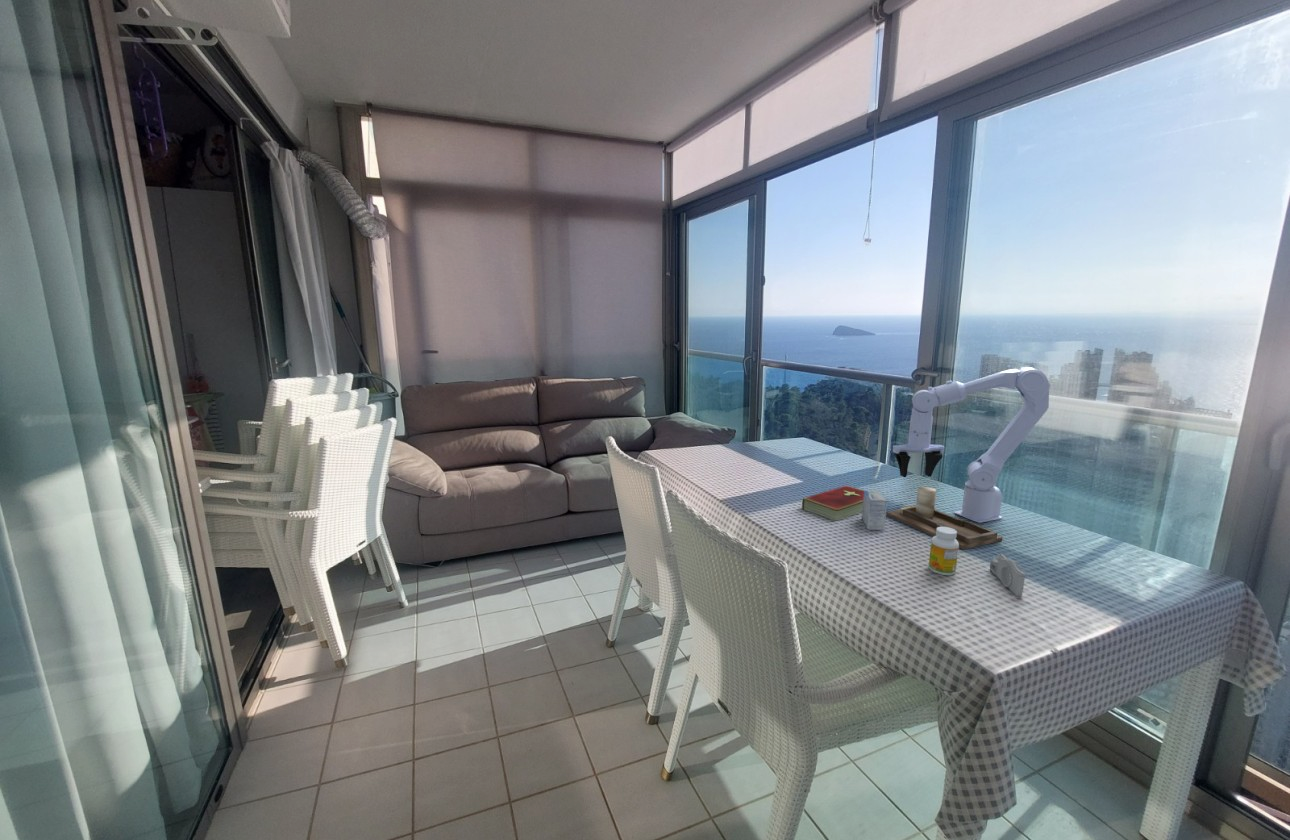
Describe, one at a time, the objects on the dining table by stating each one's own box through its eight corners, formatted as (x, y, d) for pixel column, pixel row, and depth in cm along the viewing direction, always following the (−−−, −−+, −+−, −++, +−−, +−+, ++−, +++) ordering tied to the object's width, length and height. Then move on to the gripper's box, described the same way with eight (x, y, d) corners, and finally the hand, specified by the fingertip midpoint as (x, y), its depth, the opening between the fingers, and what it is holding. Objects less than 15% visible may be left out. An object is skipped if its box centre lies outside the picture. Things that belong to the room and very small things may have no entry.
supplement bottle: (923, 564, 120) (928, 525, 118) (947, 564, 120) (952, 525, 118) (935, 575, 115) (940, 534, 113) (960, 576, 115) (965, 535, 113)
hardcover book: (801, 510, 155) (802, 496, 154) (844, 496, 167) (845, 484, 166) (836, 523, 145) (837, 508, 145) (879, 507, 157) (880, 494, 156)
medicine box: (884, 531, 139) (887, 500, 137) (867, 529, 140) (869, 499, 138) (877, 520, 146) (880, 490, 145) (861, 518, 147) (863, 489, 146)
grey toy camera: (987, 569, 118) (991, 545, 117) (996, 569, 118) (1000, 545, 116) (1015, 596, 106) (1019, 570, 105) (1024, 597, 106) (1029, 571, 105)
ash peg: (923, 512, 149) (926, 486, 147) (936, 518, 145) (940, 491, 143) (911, 514, 147) (914, 488, 146) (924, 520, 143) (927, 493, 142)
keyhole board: (922, 508, 155) (923, 500, 154) (1001, 540, 133) (1003, 531, 132) (886, 515, 150) (887, 507, 149) (962, 549, 128) (963, 539, 127)
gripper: (903, 434, 147) (899, 480, 150) (953, 434, 148) (947, 479, 150) (890, 429, 154) (886, 473, 156) (938, 428, 155) (933, 472, 157)
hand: (915, 475), depth 154 cm, fingers open, 7 cm apart
